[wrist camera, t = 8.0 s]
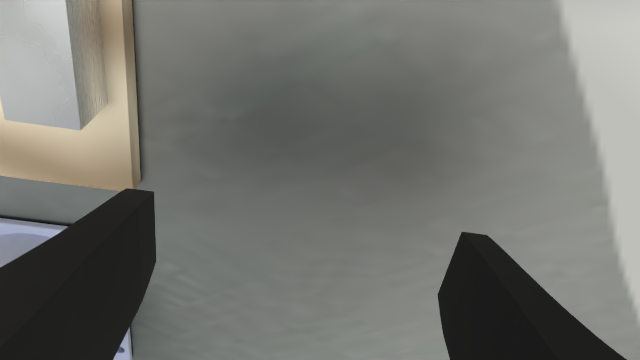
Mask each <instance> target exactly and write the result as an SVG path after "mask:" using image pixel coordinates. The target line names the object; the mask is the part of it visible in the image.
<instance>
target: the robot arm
mask: <svg viewBox="0 0 640 360" xmlns="http://www.w3.org/2000/svg"><path fill="white" fill-rule="evenodd" d="M155 263H156V241H155V211H154V192H152V191H145V190H137V189H129V188H126V189H125V190H123V191H121V192H120V193H118V194H117V195H115V196H114V197H112V198H111V199H109V200H108V201H106V202H105V203H103V204H102V205H100V206H99V207H98V208H96V209H95V210H93V211H92V212H90V213H89V214H87V215H86V216H84V217H83V218H81V219H80V220H78V221H77V222H75V223H74V224H72V225H70V226H69V227H68V226H60V225H52V224H44V223H35V222H27V221H19V220H11V219H3V218H0V360H132V350H131V337H130V325H131V323H132V321H133V319H134V317H135V315H136V313H137V311H138V309H139V307H140V304H141V302H142V300H143V298H144V295H145V292H146V289H147V287H148V284H149V281H150V278H151V275H152V272H153V269H154V266H155ZM438 300H439V308H440V316H441V323H442V329H443V335H444V339H445V342H446V346H447V350H448V353H449V357H450V360H626V359H625V358H624V357H622V356H621V355H620V354H618V353H617V352H616V351H614V350H613V349H612V348H610V347H609V346H608V345H607V344H605V343H604V342H603V341H602V340H601V339H599V338H598V337H597V336H596V335H594V334H593V333H592V332H591V331H590V330H589V329H587V328H586V327H585V326H584V325H583V324H582V323H580V322H579V321H578V320H577V319H576V318H575V317H574V316H572V315H571V314H570V313H569V312H568V311H567V310H566V309H565V308H563V307H562V306H561V305H560V304H559V303H558V302H557V301H556V300H555V299H554V298H553V297H551V296H550V295H549V294H548V293H547V292H546V291H545V290H544V289H543V288H542V287H541V286H540V285H539V284H538V283H537V282H536V281H535V280H534V279H533V278H532V277H531V276H530V275H528V274H527V273H526V272H525V271H524V270H523V269H522V268H521V267H520V266H519V265H518V264H517V263H516V262H515V261H514V260H513V259H512V258H511V257H510V256H509V255H508V254H507V253H506V252H505V251H504V250H503V249H502V248H501V247H500V246H499V245H498V244H496V243H495V242H494V241H493V240H492V239H491V238H490V237H488V236H487V235H482V234H475V233H467V232H462V233H461V235H460V238H459V241H458V243H457V246H456V248H455V251H454V254H453V256H452V259H451V261H450V264H449V267H448V269H447V272H446V274H445V277H444V280H443V282H442V285H441V287H440V290H439V293H438Z"/></svg>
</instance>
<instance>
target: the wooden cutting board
mask: <svg viewBox="0 0 640 360" xmlns="http://www.w3.org/2000/svg"><path fill="white" fill-rule="evenodd" d="M0 176H6V177H14V178H22V179H29V180H37V181H45V182H53V183H60V184H68V185H76V186H83V187H91V188H99V189H107V190H114V191H123V190H125V189H126V188H129V189H136V188H137V186H138V184H139V183H140V181H141V175H140V154H139V134H138V114H137V93H136V73H135V53H134V33H133V12H132V0H0Z"/></svg>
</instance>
